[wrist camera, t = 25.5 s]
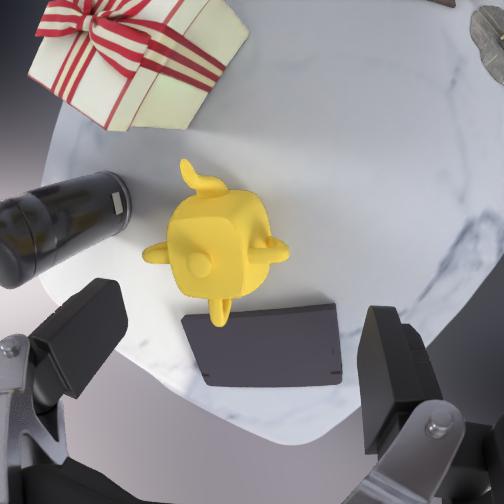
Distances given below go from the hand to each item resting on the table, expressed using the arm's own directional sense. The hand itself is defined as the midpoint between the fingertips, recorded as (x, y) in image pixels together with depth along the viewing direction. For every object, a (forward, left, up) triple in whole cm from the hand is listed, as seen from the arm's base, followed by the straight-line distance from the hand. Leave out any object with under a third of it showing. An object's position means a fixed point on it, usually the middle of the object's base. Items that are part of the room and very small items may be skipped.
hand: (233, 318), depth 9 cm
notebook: (-3, -22, -27) cm, 35 cm away
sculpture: (+26, +23, -27) cm, 43 cm away
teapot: (-8, -5, -27) cm, 28 cm away
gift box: (-16, +18, -27) cm, 36 cm away
